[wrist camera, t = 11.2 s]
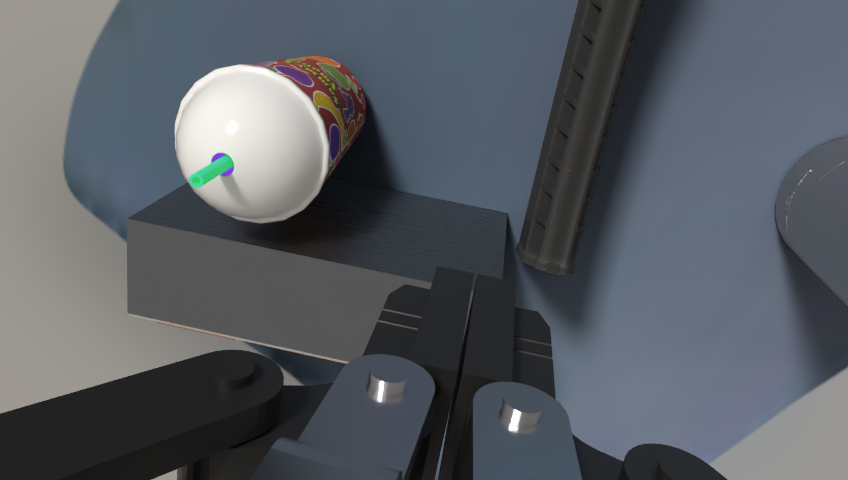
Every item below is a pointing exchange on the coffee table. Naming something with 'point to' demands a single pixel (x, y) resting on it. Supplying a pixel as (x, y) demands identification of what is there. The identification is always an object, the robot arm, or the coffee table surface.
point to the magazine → (578, 131)
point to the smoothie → (267, 134)
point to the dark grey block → (301, 264)
